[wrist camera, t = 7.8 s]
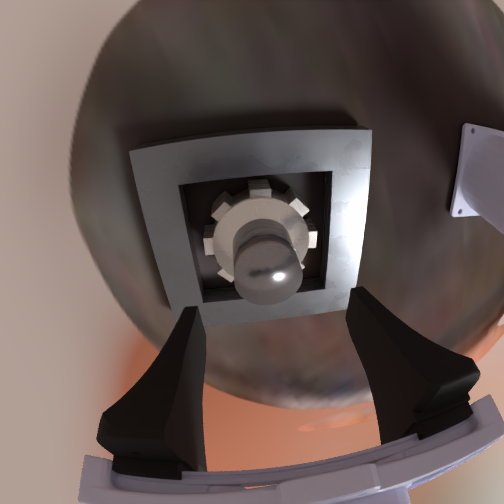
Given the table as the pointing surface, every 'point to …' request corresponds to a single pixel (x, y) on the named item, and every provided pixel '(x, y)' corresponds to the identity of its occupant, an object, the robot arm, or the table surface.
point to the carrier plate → (244, 165)
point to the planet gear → (260, 241)
